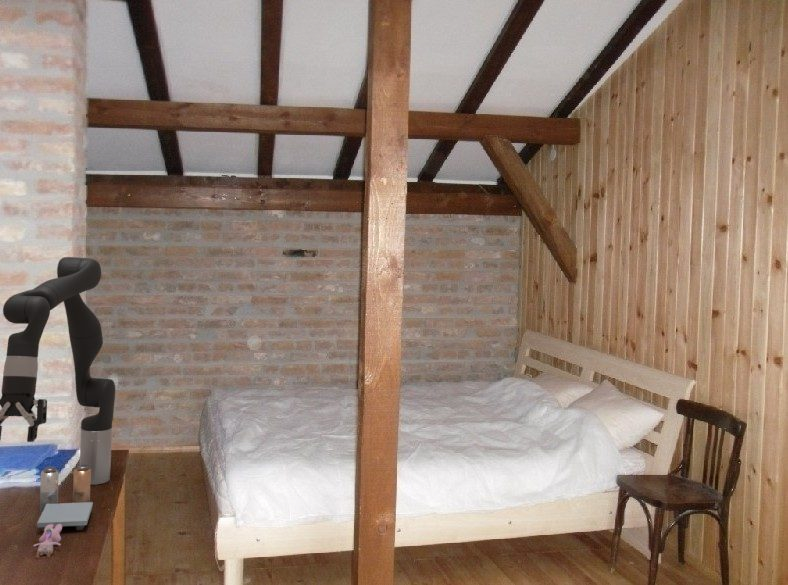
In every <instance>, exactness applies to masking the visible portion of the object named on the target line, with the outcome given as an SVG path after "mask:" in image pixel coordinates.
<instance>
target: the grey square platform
mask: <svg viewBox="0 0 788 585" xmlns="http://www.w3.org/2000/svg"><path fill="white" fill-rule="evenodd" d="M93 504H94V503H93V501H90V502H85V503H73V502H68V503H67V502H64V503H62V502H61V503H58V504H46V506H45V508H44V510H43V512H41V515H40V516H39V519H38V521H37V523H36V528H41V529H40V530H41V532H42V533H44V529H45V527H46V526H47V525H49V524H53V525H54V527H53V528H55V526H56V525H58V524H61V525H62V527H75V530H76V531H78V530H81V531H83V530H84V529H85V526H87V525H88V522H89V519H90V516H91V513H92V509H93V507H94V506H93Z"/></svg>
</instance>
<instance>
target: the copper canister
mask: <svg viewBox="0 0 788 585" xmlns="http://www.w3.org/2000/svg"><path fill="white" fill-rule="evenodd" d="M72 479H73V483H72V484H73V486H72V503H85V502H91V486H92V485H91V468H88V465H80V464H79V465H77V466H76V467H75V468H74V469H73V478H72Z"/></svg>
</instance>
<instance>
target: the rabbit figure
mask: <svg viewBox="0 0 788 585" xmlns="http://www.w3.org/2000/svg"><path fill="white" fill-rule="evenodd" d="M62 529H63V526H62V525H61V524H58V525H56V526H55V527H54V525H53V524H49V525H47V526H46V527H45V529H44V532H42V535H41V536H40V537H39V538H38V541H39V543H36V544H33V545H32V546H33V547H34V548H36V547H37V546H38V548H37V552H36V556H35V558H37V560H39V559H40V558H41V556H43V555H46V558H47V557H48V559H50V558H51V555H52V554H53V552H54V545H55V546H56V545H57V546H59V547H60V546H61V545H62V544H61V543H60V541H61V540H62V537H61V535H60V533H61V532H62Z"/></svg>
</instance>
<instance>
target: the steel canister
mask: <svg viewBox="0 0 788 585" xmlns="http://www.w3.org/2000/svg"><path fill="white" fill-rule="evenodd" d="M59 473H60V471H59V470H58V469H57V468H56V466H46V467H44V468H43V470H41V472H40V491H39V494H40V495H39V511H40V512H41V511H42V512H43V510H44V508H45V506H46V504H59V503H58V502H59ZM42 512H41V513H42Z"/></svg>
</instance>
